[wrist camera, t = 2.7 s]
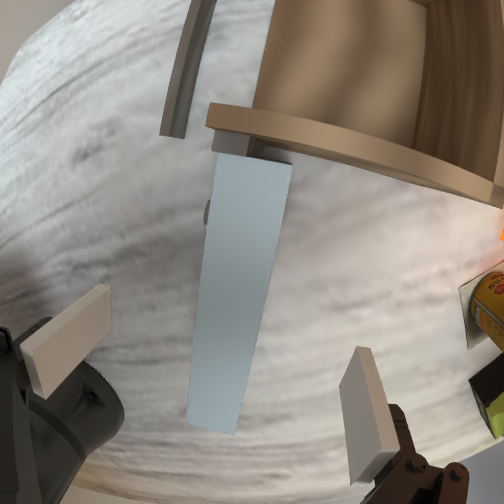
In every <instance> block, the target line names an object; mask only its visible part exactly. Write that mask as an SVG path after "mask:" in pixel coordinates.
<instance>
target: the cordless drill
mask: <svg viewBox="0 0 504 504" xmlns="http://www.w3.org/2000/svg"><path fill="white" fill-rule="evenodd" d="M469 383H470V385H471V388H472V391H473V394H474V396H475V399H476V402H477V405H478V408H479V411H480V414H481V416H482V418H483V419H484V421H485V423H486V425H487V426H488V428H489V430H490V432H491V434H492V435H493V437H494V438H495V439H497V438H498V437H499V436H501V435H502V436H504V353H502V354H501V355H500V356H498V357H497V358H496V359H495V360H494V361H492V362H491V363H490V364H489V365H487V366H486V367H485V368H484V369H482V370H481V371H480V372H478V373H477V374H476V375H475V376H473V377H472V378H471V379H469Z"/></svg>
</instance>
